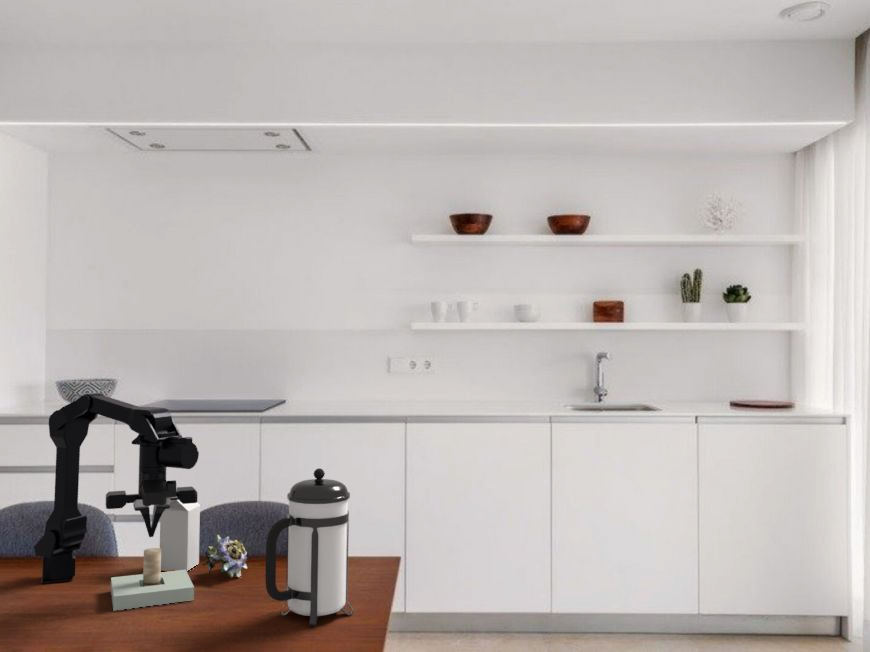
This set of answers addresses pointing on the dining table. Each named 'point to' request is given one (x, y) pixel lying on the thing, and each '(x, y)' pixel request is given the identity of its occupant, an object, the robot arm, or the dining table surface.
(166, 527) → the milk carton
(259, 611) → the dining table surface
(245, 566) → the passion flower
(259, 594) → the dining table surface
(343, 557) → the coffee press
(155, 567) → the peg
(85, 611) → the dining table surface
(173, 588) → the board
